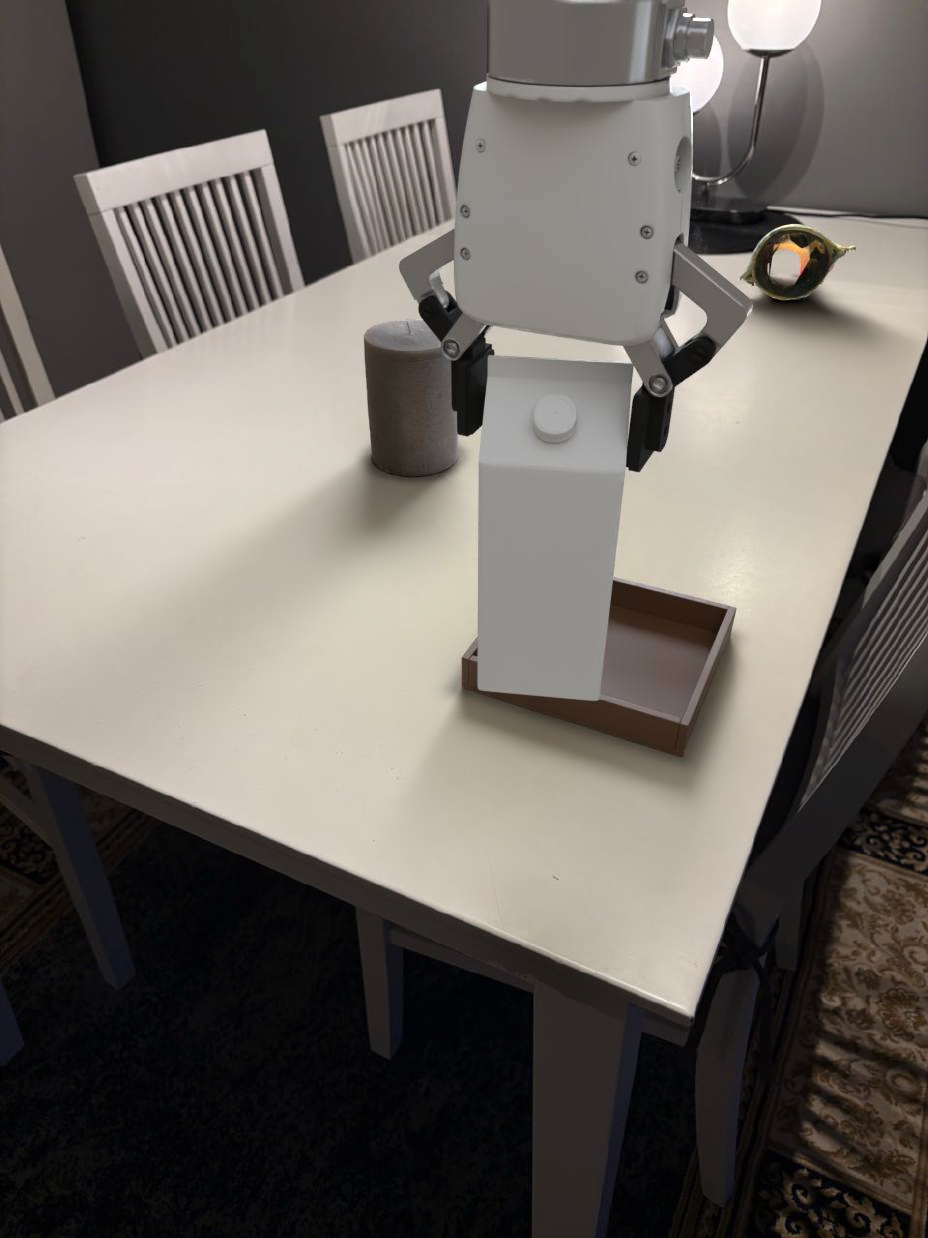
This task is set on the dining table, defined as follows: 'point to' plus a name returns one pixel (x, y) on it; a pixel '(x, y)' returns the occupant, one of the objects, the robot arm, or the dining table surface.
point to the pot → (812, 253)
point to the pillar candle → (409, 399)
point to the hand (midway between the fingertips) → (555, 441)
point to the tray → (642, 667)
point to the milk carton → (549, 521)
